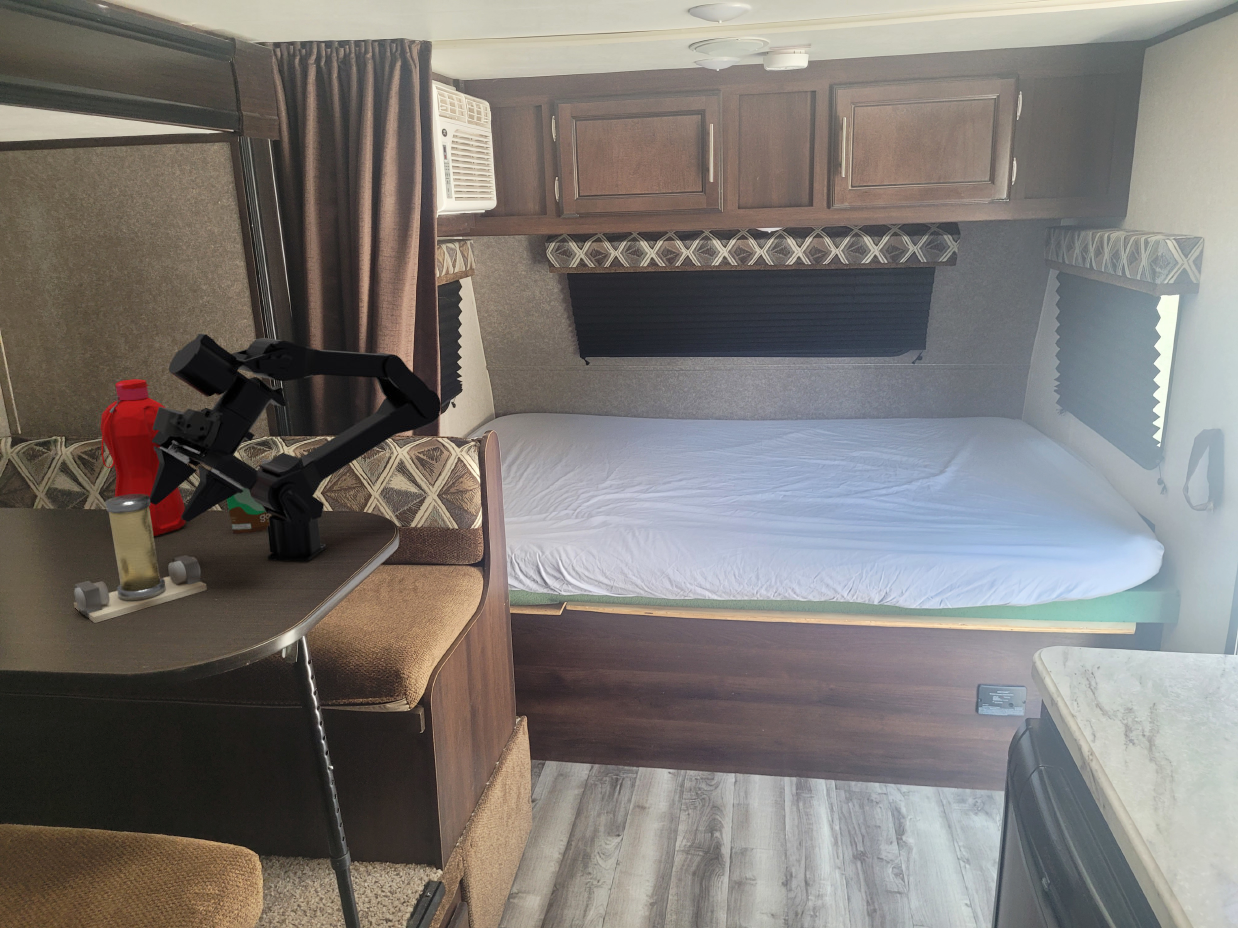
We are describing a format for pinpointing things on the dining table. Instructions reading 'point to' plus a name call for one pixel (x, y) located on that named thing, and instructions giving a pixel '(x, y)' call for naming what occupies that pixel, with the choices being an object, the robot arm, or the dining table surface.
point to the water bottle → (138, 451)
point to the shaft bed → (107, 605)
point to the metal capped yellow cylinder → (134, 548)
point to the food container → (247, 512)
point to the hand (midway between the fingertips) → (167, 511)
